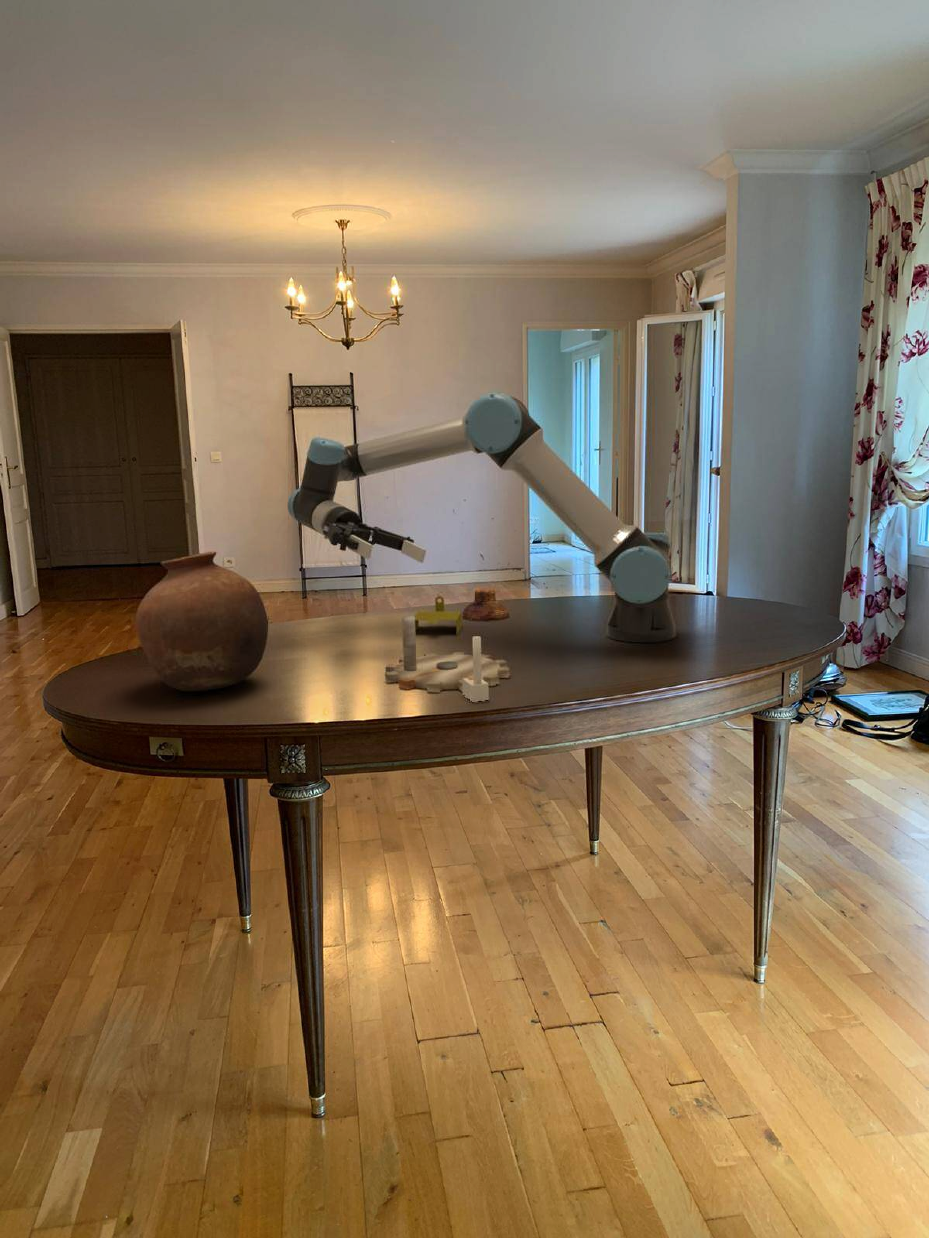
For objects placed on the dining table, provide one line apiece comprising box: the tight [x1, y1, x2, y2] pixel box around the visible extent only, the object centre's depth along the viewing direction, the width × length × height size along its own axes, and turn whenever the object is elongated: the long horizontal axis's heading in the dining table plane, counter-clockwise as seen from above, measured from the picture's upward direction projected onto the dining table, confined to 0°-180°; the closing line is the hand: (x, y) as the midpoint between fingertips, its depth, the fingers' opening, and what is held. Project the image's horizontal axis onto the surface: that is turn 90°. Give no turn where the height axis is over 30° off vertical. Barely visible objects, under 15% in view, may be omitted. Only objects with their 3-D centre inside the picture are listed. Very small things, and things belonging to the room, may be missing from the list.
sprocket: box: [384, 615, 511, 693], centre depth 165 cm, size 23×23×12 cm
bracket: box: [414, 595, 463, 635], centre depth 204 cm, size 16×8×15 cm
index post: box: [462, 635, 490, 703], centre depth 150 cm, size 5×3×11 cm, turn 19°
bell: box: [462, 588, 510, 622], centre depth 220 cm, size 12×12×7 cm
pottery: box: [135, 550, 269, 692], centre depth 160 cm, size 23×23×25 cm
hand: (397, 554), depth 171 cm, fingers open, 13 cm apart
